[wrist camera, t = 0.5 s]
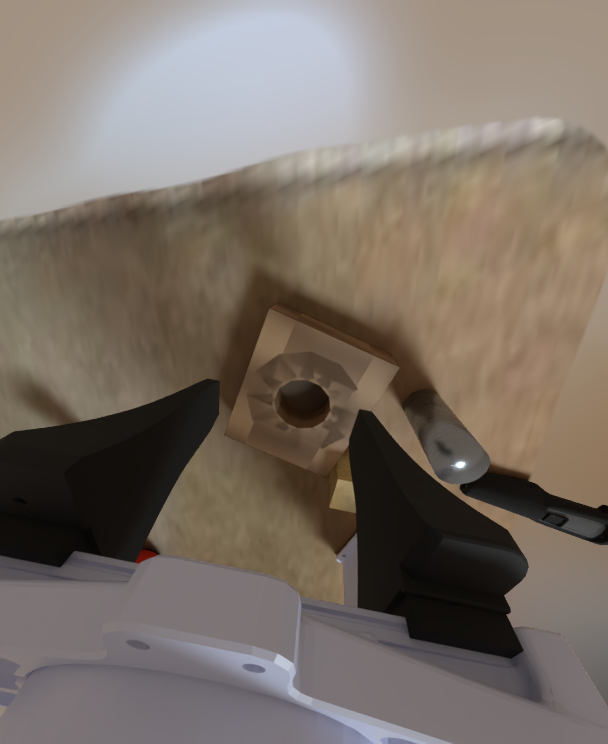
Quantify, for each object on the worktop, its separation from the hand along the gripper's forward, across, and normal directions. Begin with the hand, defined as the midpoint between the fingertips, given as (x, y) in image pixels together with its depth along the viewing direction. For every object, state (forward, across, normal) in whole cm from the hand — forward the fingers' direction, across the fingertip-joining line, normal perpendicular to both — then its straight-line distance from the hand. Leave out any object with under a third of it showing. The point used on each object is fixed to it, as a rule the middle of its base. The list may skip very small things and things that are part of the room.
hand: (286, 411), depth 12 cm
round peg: (+9, -11, +3) cm, 15 cm away
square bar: (+8, -7, +10) cm, 15 cm away
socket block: (+9, -1, +4) cm, 10 cm away
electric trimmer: (+8, -25, +10) cm, 28 cm away
